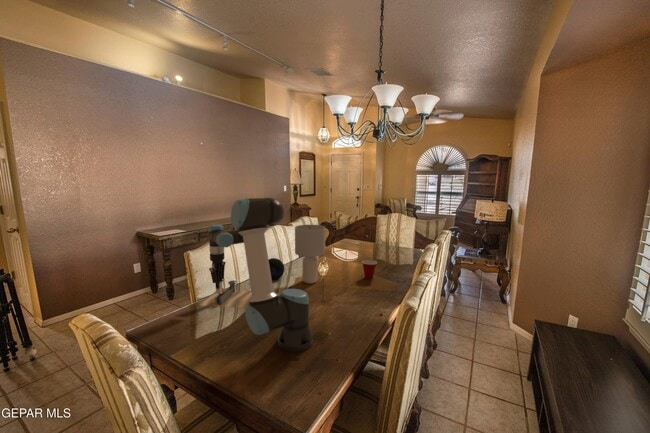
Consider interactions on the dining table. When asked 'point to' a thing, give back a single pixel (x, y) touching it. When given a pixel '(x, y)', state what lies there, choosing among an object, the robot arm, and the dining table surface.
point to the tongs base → (222, 294)
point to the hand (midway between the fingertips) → (219, 293)
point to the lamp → (310, 249)
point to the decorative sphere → (276, 268)
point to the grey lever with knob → (227, 293)
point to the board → (231, 299)
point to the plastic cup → (369, 268)
